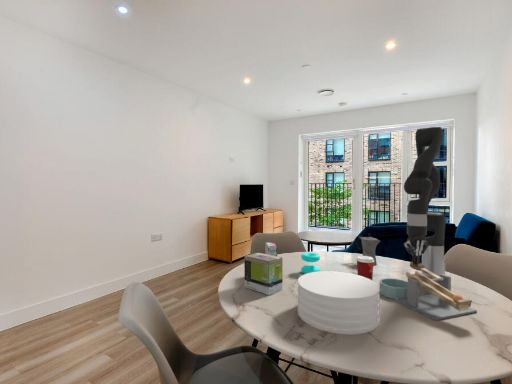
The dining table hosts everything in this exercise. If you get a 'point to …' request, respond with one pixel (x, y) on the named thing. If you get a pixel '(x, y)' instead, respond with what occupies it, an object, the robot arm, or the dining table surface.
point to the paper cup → (365, 266)
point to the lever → (437, 287)
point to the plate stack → (338, 302)
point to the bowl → (393, 288)
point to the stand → (431, 301)
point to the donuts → (310, 258)
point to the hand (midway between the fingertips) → (415, 263)
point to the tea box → (263, 273)
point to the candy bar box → (270, 249)
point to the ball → (457, 298)
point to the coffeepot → (368, 246)
